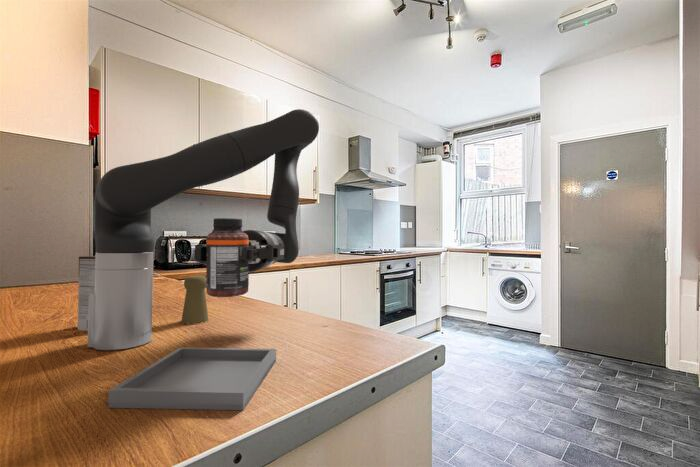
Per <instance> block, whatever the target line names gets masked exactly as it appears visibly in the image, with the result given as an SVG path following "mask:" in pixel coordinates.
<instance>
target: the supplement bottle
mask: <svg viewBox="0 0 700 467" xmlns="http://www.w3.org/2000/svg"><path fill="white" fill-rule="evenodd" d="M212 226H213V229H212V232H211V233H208V235H207V236H206V243H205V244H206V261H205V264H206V268H205V269H206V270H205V271H206V273H205V275H206V276H205V277H206V288H205V289H206V294H207V295H208V296H210V297H217V298H233V297H237V296H242V295H246V294H247V293H248V292H249V283H250V282H249V278H250V274H249V273H250V272H249V262H242V248H243V247H248V246H249V239H248V235H247V234H246V233H243V231H244V230H242V228H243V219H242V218H237V217H236V218H235V217H233V218H232V217H230V218H229V217H216V218H213V224H212Z"/></svg>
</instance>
